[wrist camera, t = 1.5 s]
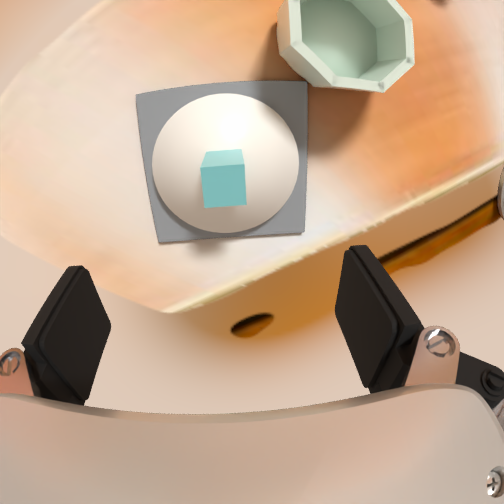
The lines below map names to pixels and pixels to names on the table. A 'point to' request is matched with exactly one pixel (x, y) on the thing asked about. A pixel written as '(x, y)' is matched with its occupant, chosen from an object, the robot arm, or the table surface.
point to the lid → (225, 163)
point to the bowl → (346, 42)
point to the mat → (268, 92)
